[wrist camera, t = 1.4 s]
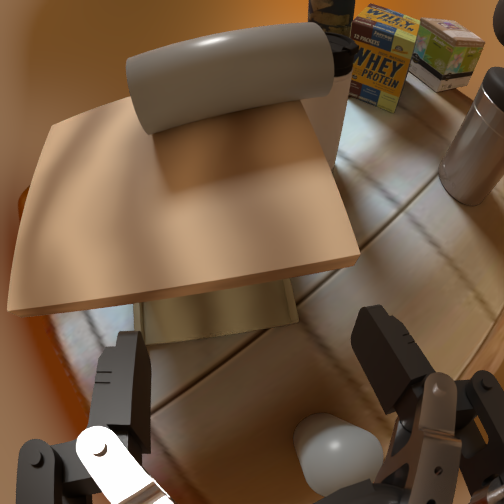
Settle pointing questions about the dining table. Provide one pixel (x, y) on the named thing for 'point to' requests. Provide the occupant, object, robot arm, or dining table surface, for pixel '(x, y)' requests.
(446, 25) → the tea box
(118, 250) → the wooden shelf stand
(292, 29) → the grey lying cylinder
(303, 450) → the grey rounded cylinder
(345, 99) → the travel mug
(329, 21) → the canister
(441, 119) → the dining table surface
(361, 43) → the protein box
